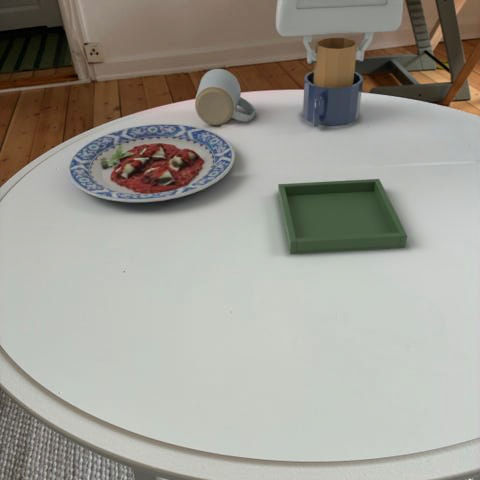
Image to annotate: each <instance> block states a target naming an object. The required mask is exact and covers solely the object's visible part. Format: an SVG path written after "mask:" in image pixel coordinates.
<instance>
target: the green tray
mask: <svg viewBox="0 0 480 480" xmlns="http://www.w3.org/2000/svg"><path fill="white" fill-rule="evenodd" d="M277 185H278V186H277V197H278V202H279V207H280V211H281V217H282V222H283V227H284V231H285V235H286V242H287V247H288V253H289V255H301V254H302V255H303V254H320V253H336V252H353V251H356V252H357V251H371V250H389V249H390V250H392V249H406V244H407V239H408V234H407V232H406V229H405V228H404V226H403V224H402V222H401V220H400V218H399V216H398V214H397V212H396V210H395V208H394V206H393V204H392V202H391V200H390V198H389V196H388V194H387V192H386V189H385V188H384V186H383V184H382V182H381V179H380V178H370V179H369V178H368V179H351V180H350V179H349V180H347V179H346V180H331V181H329V180H328V181H314V182H313V181H312V182H294V183H293V182H292V183H278V184H277Z"/></svg>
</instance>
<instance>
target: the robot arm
mask: <svg viewBox="0 0 480 480" xmlns="http://www.w3.org/2000/svg"><path fill="white" fill-rule="evenodd" d="M276 2H277V3H276V10H275V11H276V12H275V29H276V31H277V33H278V34H279V35H280V36H281V37H283V38H284V37H300V36H301V41H302V43H303V45H304V48H305V50H306V62H307V64H310V65H311V64H315V63H316V62H317V59H316V58H317V52H316V50H315V49H312V48H311V45H310V43H312V38H313V37H312V36H321V35H322V36H323V35H324V36H325V35H326V36H327V35H344V34H345V35H347V34H361V36H362V37H363V39H362V40H361V42H360V44H358V45H359V46H357V52H356V61H355V62H364V57H365V51H366V50H367V49H368V47H369V46H370V44H371V43H372V41H373V40H374V33H385V32H396V31H397V30H398V29H399V27H400V26H401V24H402V20H403V9H404V8H403V7H404V0H277V1H276Z"/></svg>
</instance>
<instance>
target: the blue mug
mask: <svg viewBox="0 0 480 480" xmlns="http://www.w3.org/2000/svg"><path fill="white" fill-rule="evenodd" d="M313 81H314V70H312V71H309V72H307V74H305V75H304V79H303V97H302V98H303V99H302V117H303V118H304V119H305V121H307V122H309V123H311V124H312V126H313V128H318V127H319V126H323V127H340V126H345V125H350V124H353V123H354V122H355V121H357V120H358V119H359V117H360V110H361V108H360V107H361V100H362V92H363V85H364V84H363V83H364V79H363V75H361V74H360V73H359V72H357V71H354V80H353V85H351V86H347V87H340V88H329V87H322V86H318V85H315V84H313Z"/></svg>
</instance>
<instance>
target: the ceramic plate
mask: <svg viewBox="0 0 480 480" xmlns="http://www.w3.org/2000/svg"><path fill="white" fill-rule="evenodd" d="M76 151H77V152H75V154H73V156H72V157H71V159H70V160H69V163H68V167H67V171H68V176H69V178H70V180H71V183H73V184H74V185H75V186H76V187H77V188H78V189H79V190H81V191H83V192H85V193H86V194H87V195H88V194H89V195H91V196H94V197H96V198H100V199H103V200H108V201H113V202H123V203H152V202H153V203H154V202H162V201H167V200H172V199H178V198H182V197H185V196H188V195H192V194H195V193H197V192H200V191H203V190H205V189H206V188H208V187H210V186H212V185H214V184H216V183H217V182H219V181H220V180H221V179H223V178H224V177H225V176H226V175H227V174H228V173H229V172H230V170H231V169H232V168H233V167H234V166H233V165H234V163H235V159H236V158H235V157H236V152H235V149H234V147H233V146H232V144H231V143H230V142H229V140H227V139H226V138H225V137H224V136H222V135H220V134H219V133H216V132H214V131H212V130H210V129H207V128H203V127H199V126H196V125H188V124H187V125H186V124H179V123H152V124H143V125H138V126H131V127H125V128H122V129H119V130H115V131H111V132H109V133H106V134H104V135H101V136H99V137H96V138H95V139H93V140H91V141H89V142H87V143H86V144H84V146H82V147H81V148H80V149H78V150H76Z"/></svg>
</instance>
